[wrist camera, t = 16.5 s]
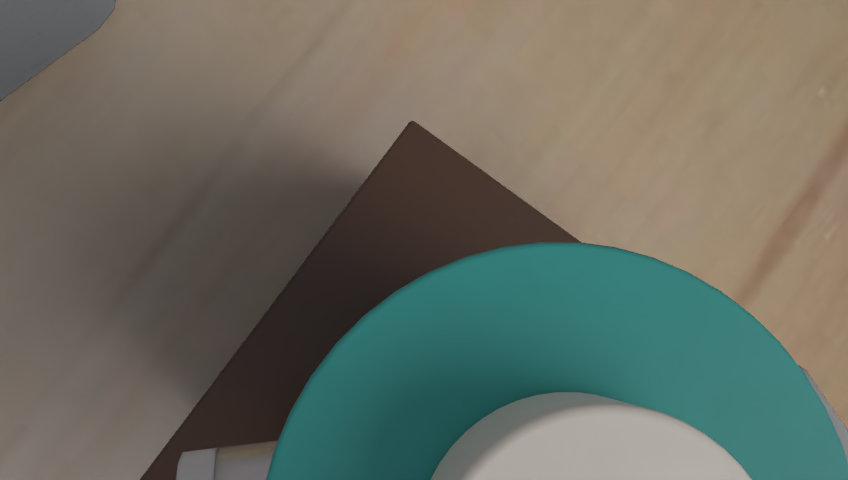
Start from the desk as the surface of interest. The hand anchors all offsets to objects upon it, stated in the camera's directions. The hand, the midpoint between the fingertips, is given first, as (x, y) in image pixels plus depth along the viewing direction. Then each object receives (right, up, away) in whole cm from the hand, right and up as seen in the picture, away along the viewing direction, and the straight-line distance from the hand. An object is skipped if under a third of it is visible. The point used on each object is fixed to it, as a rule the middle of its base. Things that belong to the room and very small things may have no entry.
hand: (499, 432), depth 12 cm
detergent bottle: (0, -1, +6) cm, 6 cm away
